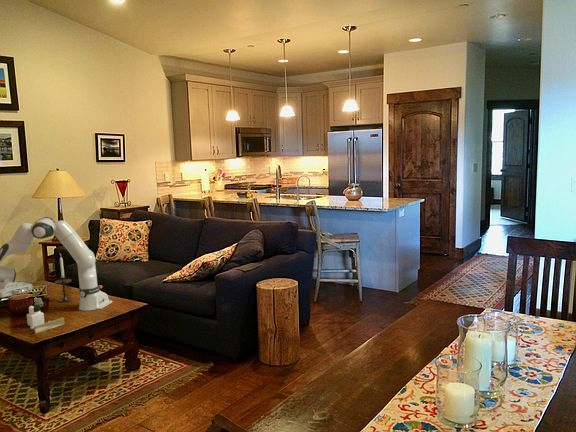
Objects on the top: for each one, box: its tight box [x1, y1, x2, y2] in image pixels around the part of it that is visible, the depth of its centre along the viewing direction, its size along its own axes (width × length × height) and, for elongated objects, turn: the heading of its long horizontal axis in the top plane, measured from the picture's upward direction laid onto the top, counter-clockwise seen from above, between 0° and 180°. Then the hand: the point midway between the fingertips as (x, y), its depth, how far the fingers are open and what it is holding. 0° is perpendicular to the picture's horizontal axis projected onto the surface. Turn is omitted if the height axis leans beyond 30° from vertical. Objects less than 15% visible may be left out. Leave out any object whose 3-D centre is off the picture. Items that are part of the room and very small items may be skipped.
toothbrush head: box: [33, 296, 44, 308], centre depth 335 cm, size 5×7×25 cm
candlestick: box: [54, 252, 73, 304], centre depth 338 cm, size 11×11×35 cm
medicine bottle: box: [26, 304, 45, 327], centre depth 292 cm, size 7×7×12 cm
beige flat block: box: [29, 317, 65, 335], centre depth 287 cm, size 11×18×4 cm, turn 148°
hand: (21, 291), depth 297 cm, fingers closed
